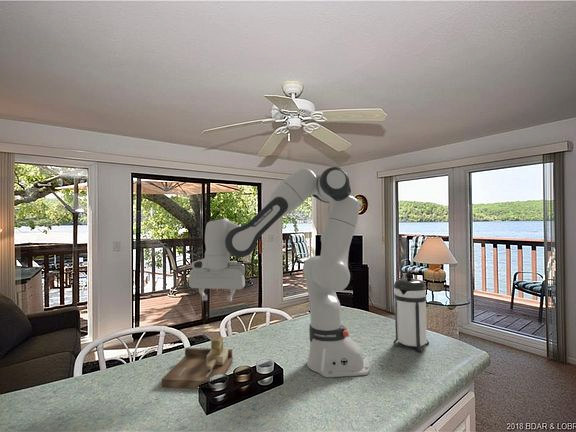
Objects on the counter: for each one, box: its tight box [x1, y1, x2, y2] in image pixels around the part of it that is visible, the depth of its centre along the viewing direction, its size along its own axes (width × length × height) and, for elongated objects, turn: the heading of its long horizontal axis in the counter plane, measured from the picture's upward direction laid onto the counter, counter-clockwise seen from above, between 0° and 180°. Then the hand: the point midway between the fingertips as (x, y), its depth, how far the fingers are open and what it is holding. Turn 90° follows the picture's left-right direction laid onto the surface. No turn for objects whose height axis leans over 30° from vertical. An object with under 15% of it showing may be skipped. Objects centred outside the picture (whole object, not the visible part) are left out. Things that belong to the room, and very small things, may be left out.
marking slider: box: [206, 335, 229, 372], centre depth 105 cm, size 6×12×8 cm, turn 174°
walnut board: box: [161, 347, 233, 390], centre depth 104 cm, size 18×18×5 cm
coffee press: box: [392, 272, 430, 353], centre depth 127 cm, size 17×16×30 cm
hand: (217, 300), depth 108 cm, fingers open, 8 cm apart
